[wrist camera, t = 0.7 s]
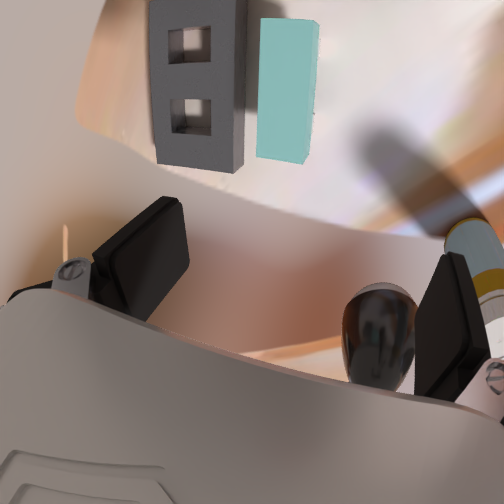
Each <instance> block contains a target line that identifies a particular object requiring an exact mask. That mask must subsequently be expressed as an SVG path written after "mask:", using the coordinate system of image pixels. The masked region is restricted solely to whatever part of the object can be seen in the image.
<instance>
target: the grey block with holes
mask: <svg viewBox="0 0 504 504" xmlns="http://www.w3.org/2000/svg"><path fill="white" fill-rule="evenodd" d="M247 1H248V0H154V1H150V2H149V53H150V79H151V98H152V112H153V125H154V137H155V147H156V157H157V164H165V165H173V166H181V167H189V168H197V169H204V170H211V171H218V172H225V173H231V174H234V173H235V172H236V171H237V170H238V169H239V168H240V167H242V166H243V165H244V121H245V74H246V35H247ZM206 28H211V61H208V62H186V63H184V61H183V31H185V30H195V29H206ZM184 99H206V100H211V128H199V127H186V124H185V100H184Z"/></svg>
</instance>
